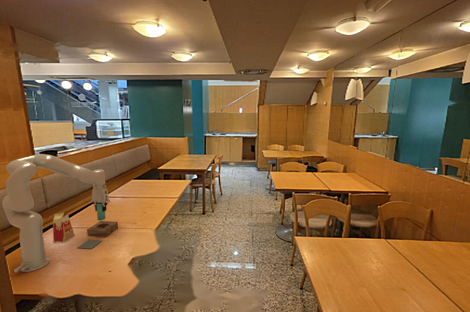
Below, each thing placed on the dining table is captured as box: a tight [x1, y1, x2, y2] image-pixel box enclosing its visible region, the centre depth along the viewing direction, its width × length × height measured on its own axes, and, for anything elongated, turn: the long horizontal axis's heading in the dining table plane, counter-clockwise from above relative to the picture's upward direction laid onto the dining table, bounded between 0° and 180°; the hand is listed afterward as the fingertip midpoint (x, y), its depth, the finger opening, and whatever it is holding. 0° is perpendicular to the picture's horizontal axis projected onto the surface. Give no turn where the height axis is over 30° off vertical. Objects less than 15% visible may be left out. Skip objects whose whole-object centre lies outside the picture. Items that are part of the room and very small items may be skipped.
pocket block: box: [86, 220, 119, 238], centre depth 164 cm, size 14×14×5 cm
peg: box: [96, 202, 106, 221], centre depth 161 cm, size 5×5×12 cm
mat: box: [76, 239, 103, 250], centre depth 147 cm, size 10×10×1 cm
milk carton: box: [52, 212, 76, 244], centre depth 152 cm, size 9×9×20 cm
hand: (100, 210), depth 161 cm, fingers closed on peg, 5 cm apart
